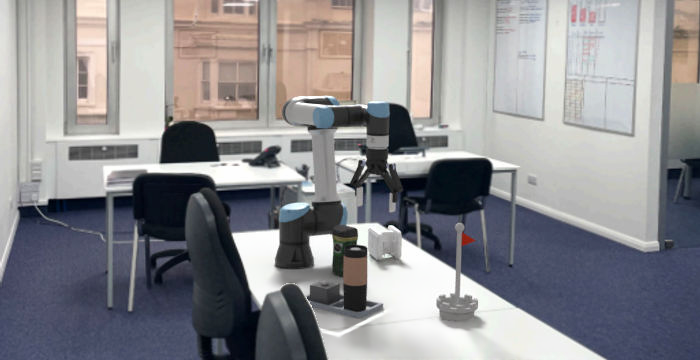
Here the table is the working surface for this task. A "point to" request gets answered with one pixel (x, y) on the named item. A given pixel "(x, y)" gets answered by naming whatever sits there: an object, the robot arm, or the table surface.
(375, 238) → the cable organizer
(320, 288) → the seated block
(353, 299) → the travel mug
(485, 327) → the table surface
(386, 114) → the robot arm
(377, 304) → the dock
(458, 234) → the flag stand
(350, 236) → the coffee jar
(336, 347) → the table surface
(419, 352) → the table surface
